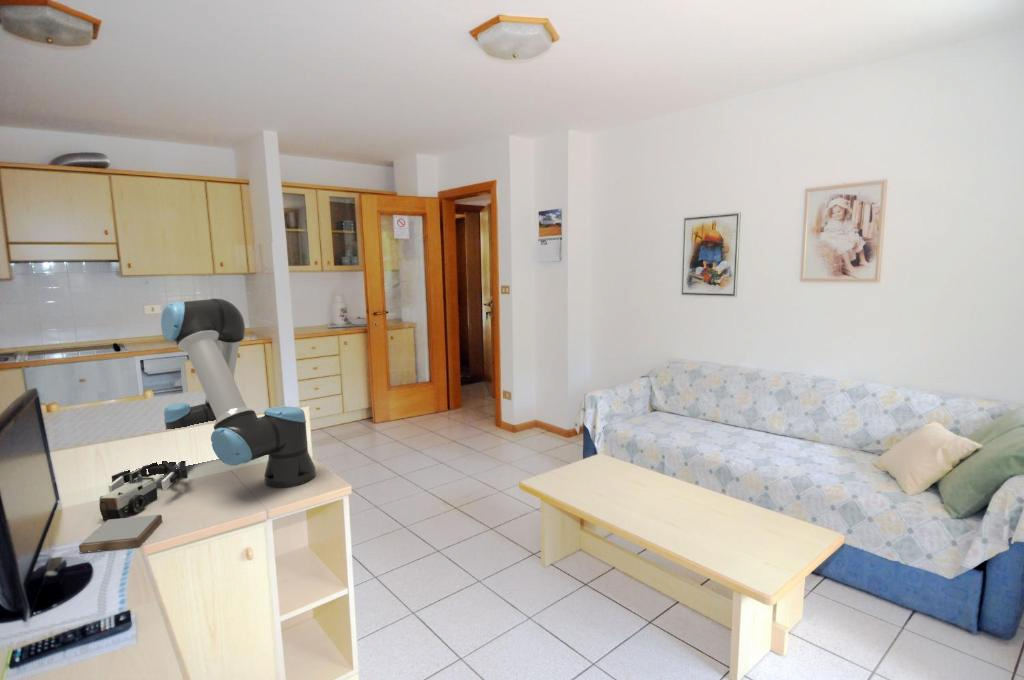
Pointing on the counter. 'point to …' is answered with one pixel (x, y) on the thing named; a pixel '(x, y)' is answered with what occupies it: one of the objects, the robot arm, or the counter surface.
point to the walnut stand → (121, 533)
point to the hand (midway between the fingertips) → (137, 487)
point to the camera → (129, 497)
